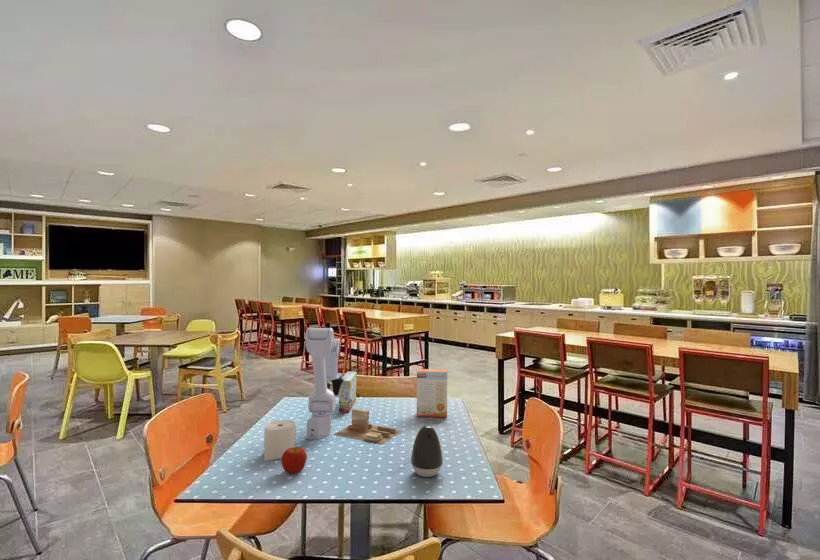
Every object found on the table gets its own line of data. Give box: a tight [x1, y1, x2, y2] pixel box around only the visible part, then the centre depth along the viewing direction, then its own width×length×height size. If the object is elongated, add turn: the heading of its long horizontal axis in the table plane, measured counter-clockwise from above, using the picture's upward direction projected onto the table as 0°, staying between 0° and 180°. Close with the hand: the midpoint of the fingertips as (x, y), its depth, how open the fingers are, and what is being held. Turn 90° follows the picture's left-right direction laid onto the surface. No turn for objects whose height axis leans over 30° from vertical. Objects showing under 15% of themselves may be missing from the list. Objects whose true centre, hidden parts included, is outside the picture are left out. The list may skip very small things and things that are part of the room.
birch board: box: [351, 407, 370, 430], centre depth 170 cm, size 2×7×8 cm, turn 64°
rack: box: [333, 423, 403, 446], centre depth 165 cm, size 16×22×3 cm
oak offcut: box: [365, 432, 382, 439], centre depth 159 cm, size 4×5×1 cm
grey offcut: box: [364, 436, 383, 443], centre depth 159 cm, size 4×6×1 cm, turn 64°
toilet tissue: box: [263, 419, 297, 461], centre depth 147 cm, size 11×12×10 cm
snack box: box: [338, 371, 358, 414], centre depth 205 cm, size 21×6×15 cm, turn 179°
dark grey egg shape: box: [410, 425, 444, 478], centre depth 133 cm, size 10×10×15 cm
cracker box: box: [416, 368, 448, 418], centre depth 192 cm, size 14×6×21 cm, turn 84°
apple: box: [280, 446, 308, 475], centre depth 133 cm, size 8×8×8 cm
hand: (330, 397), depth 183 cm, fingers open, 7 cm apart
